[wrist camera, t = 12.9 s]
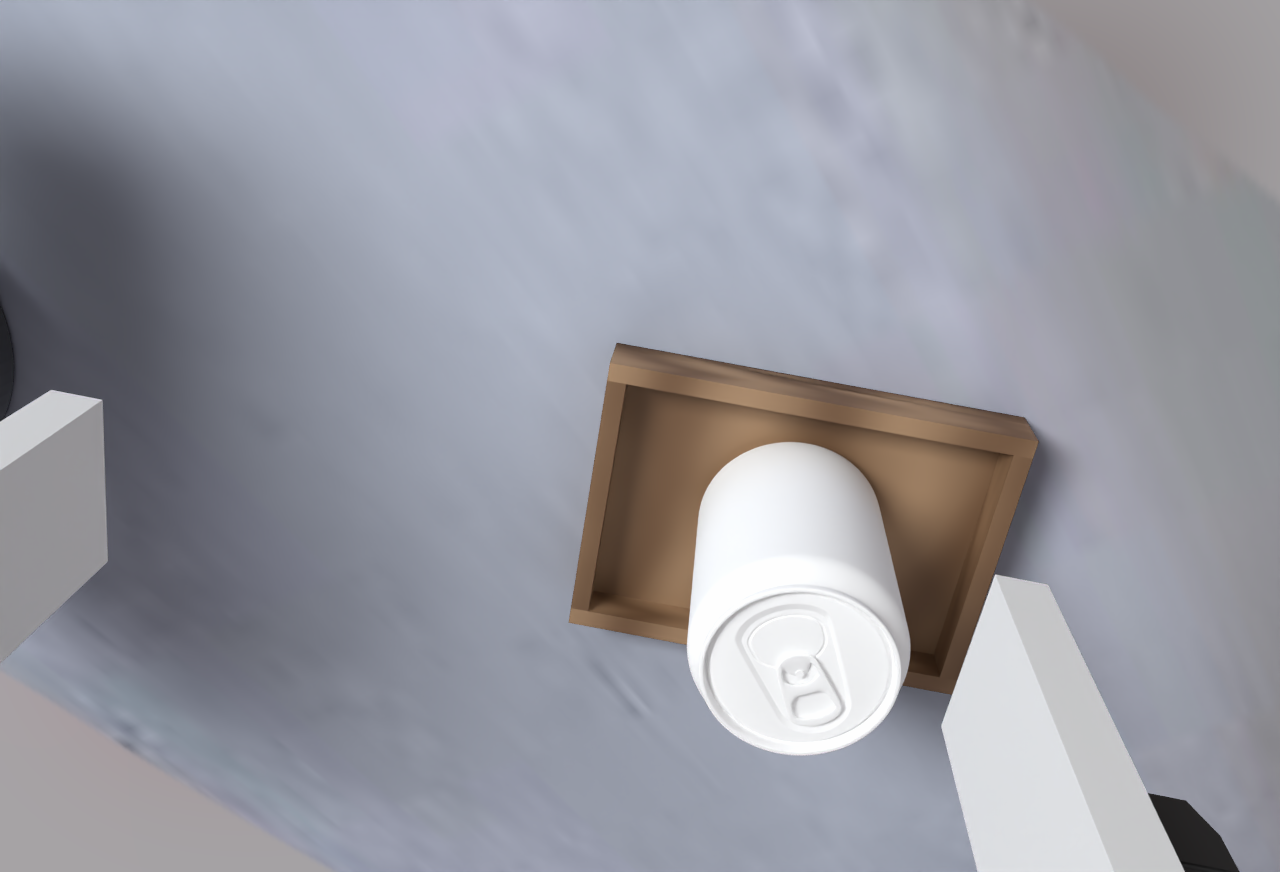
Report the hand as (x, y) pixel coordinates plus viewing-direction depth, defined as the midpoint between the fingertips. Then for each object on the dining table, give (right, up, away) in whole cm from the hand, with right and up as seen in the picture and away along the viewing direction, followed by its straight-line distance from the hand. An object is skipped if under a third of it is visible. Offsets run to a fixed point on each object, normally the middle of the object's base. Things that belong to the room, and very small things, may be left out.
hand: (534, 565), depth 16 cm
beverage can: (+8, -2, +34) cm, 35 cm away
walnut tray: (+8, -2, +34) cm, 35 cm away
